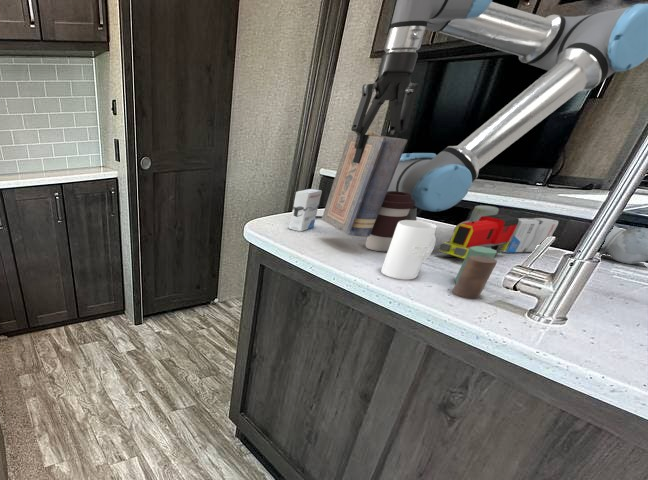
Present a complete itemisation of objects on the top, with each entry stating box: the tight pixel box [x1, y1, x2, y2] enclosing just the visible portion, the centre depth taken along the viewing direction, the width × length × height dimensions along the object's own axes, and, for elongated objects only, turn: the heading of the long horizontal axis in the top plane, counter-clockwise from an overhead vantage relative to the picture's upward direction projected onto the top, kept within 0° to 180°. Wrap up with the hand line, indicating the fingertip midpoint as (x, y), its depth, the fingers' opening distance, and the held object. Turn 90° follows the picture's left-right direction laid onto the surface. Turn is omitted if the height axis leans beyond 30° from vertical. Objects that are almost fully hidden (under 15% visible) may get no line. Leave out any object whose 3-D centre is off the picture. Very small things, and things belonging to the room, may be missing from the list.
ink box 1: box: [288, 188, 323, 232], centre depth 131 cm, size 8×5×12 cm, turn 132°
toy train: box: [438, 213, 519, 260], centre depth 107 cm, size 7×19×10 cm, turn 113°
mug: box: [380, 219, 438, 280], centre depth 96 cm, size 8×12×12 cm
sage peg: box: [454, 246, 497, 284], centre depth 91 cm, size 5×5×8 cm
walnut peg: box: [452, 255, 498, 299], centre depth 86 cm, size 5×5×8 cm
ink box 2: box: [500, 217, 559, 254], centre depth 112 cm, size 9×5×12 cm
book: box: [321, 130, 408, 237], centre depth 109 cm, size 17×7×25 cm, turn 7°
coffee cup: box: [365, 191, 415, 253], centre depth 112 cm, size 10×10×15 cm
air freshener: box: [453, 204, 500, 233], centre depth 118 cm, size 11×8×10 cm
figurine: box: [598, 225, 648, 265], centre depth 104 cm, size 10×9×15 cm
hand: (369, 162), depth 106 cm, fingers closed on book, 7 cm apart
